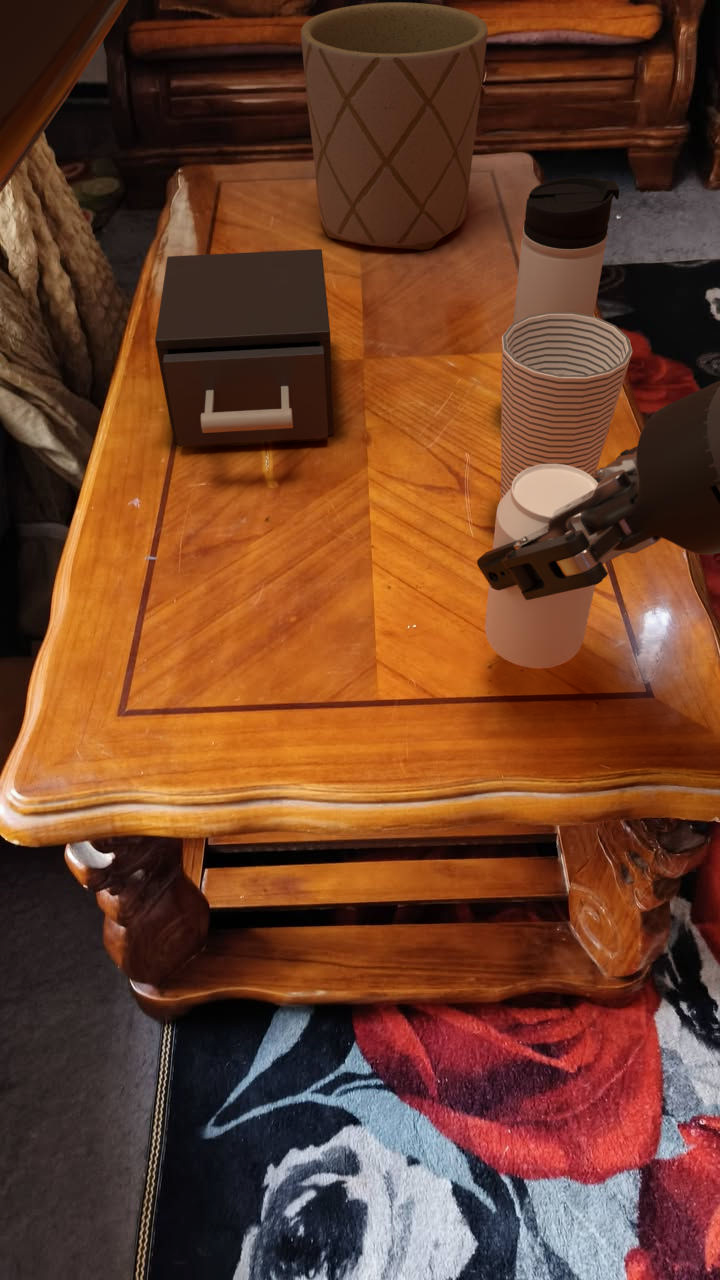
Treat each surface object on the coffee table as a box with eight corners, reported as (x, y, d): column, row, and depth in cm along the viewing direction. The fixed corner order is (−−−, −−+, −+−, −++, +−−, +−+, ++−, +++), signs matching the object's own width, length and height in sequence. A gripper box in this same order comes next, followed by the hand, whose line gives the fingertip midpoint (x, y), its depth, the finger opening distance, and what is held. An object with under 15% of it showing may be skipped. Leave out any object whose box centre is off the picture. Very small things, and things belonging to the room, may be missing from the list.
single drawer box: (334, 435, 83) (330, 331, 76) (174, 444, 82) (154, 340, 75) (326, 347, 93) (321, 248, 86) (183, 355, 92) (167, 256, 85)
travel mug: (583, 441, 81) (627, 202, 67) (506, 442, 82) (532, 203, 67) (573, 401, 86) (612, 168, 71) (499, 401, 86) (523, 169, 71)
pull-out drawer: (331, 473, 77) (327, 387, 72) (175, 482, 77) (158, 396, 71) (321, 354, 90) (316, 273, 84) (187, 361, 90) (173, 281, 84)
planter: (450, 269, 104) (461, 62, 89) (287, 247, 108) (272, 46, 94) (490, 200, 116) (506, 8, 102) (342, 182, 120) (337, -4, 106)
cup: (575, 486, 77) (608, 306, 66) (609, 555, 71) (651, 370, 60) (472, 497, 76) (488, 316, 65) (498, 568, 71) (520, 383, 59)
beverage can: (583, 681, 58) (617, 529, 50) (481, 673, 59) (498, 521, 50) (579, 610, 63) (610, 459, 54) (485, 604, 63) (500, 453, 55)
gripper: (799, 314, 45) (555, 434, 59) (648, 452, 38) (410, 552, 52) (870, 448, 47) (616, 535, 61) (738, 606, 39) (483, 663, 53)
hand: (522, 542), depth 56 cm, fingers closed on beverage can, 6 cm apart
